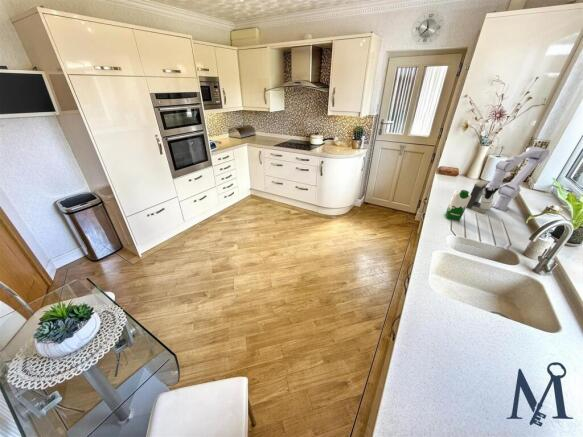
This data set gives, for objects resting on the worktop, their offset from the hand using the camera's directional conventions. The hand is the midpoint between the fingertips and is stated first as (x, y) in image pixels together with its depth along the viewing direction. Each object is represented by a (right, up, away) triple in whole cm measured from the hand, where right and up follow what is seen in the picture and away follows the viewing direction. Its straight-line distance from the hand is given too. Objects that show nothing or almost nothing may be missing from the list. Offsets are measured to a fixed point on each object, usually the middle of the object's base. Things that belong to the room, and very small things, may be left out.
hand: (488, 197), depth 162 cm
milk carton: (-30, -14, -7) cm, 34 cm away
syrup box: (+1, -7, +3) cm, 8 cm away
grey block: (-2, -7, +7) cm, 10 cm away
